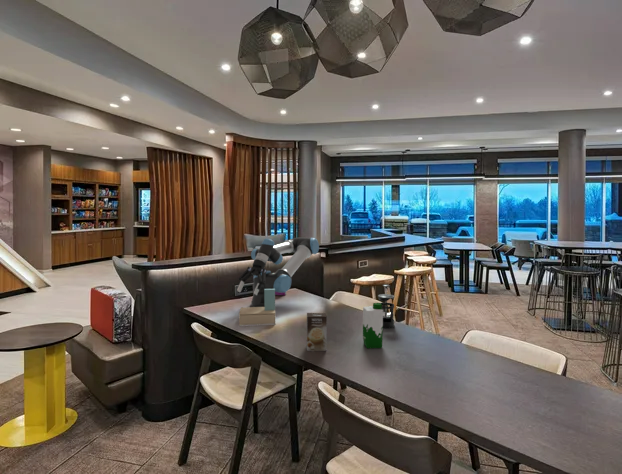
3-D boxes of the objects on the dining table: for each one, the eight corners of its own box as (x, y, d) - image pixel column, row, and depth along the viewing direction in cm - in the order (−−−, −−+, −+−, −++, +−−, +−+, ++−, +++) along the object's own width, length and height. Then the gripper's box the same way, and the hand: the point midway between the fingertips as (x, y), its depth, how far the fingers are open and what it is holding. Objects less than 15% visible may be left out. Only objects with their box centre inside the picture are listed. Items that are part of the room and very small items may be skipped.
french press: (399, 326, 201) (399, 285, 200) (387, 329, 196) (388, 287, 194) (382, 321, 211) (383, 282, 209) (371, 324, 205) (371, 284, 203)
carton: (274, 317, 219) (274, 307, 218) (275, 324, 205) (275, 314, 205) (241, 318, 216) (240, 308, 216) (239, 326, 203) (239, 315, 202)
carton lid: (274, 307, 218) (274, 286, 218) (275, 313, 205) (275, 291, 204) (240, 308, 216) (240, 287, 215) (239, 315, 202) (238, 292, 201)
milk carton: (384, 348, 169) (385, 306, 167) (365, 349, 168) (365, 306, 167) (379, 341, 177) (379, 301, 176) (361, 342, 177) (361, 301, 175)
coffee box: (306, 351, 166) (306, 316, 165) (306, 346, 172) (306, 312, 171) (326, 351, 166) (326, 316, 165) (325, 345, 172) (325, 312, 171)
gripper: (242, 257, 231) (228, 287, 222) (272, 260, 217) (258, 292, 208) (249, 263, 236) (235, 292, 227) (279, 266, 222) (266, 298, 213)
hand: (246, 292), depth 218 cm, fingers open, 13 cm apart
